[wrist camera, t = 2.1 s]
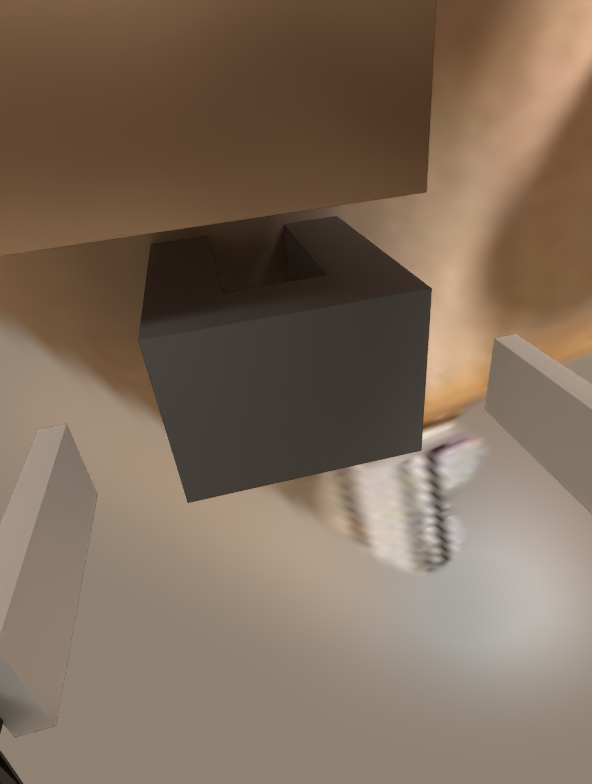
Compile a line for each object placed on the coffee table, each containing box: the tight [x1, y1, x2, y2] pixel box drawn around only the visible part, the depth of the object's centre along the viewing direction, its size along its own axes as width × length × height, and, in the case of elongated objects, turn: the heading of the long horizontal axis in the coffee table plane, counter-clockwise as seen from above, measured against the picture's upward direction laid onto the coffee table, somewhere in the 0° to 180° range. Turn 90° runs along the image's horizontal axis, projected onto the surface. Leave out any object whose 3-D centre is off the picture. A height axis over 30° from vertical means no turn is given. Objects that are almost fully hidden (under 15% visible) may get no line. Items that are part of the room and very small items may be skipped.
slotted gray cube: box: [139, 217, 432, 503], centre depth 19 cm, size 6×8×9 cm
